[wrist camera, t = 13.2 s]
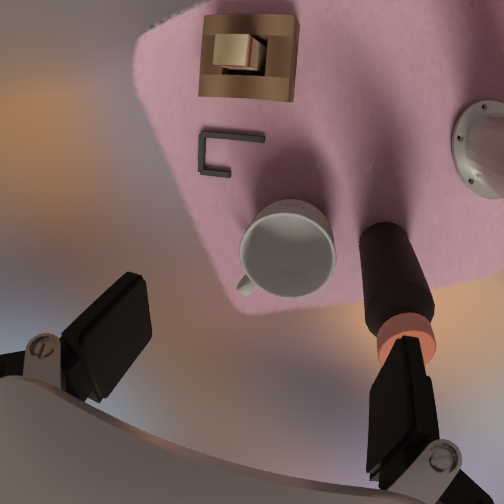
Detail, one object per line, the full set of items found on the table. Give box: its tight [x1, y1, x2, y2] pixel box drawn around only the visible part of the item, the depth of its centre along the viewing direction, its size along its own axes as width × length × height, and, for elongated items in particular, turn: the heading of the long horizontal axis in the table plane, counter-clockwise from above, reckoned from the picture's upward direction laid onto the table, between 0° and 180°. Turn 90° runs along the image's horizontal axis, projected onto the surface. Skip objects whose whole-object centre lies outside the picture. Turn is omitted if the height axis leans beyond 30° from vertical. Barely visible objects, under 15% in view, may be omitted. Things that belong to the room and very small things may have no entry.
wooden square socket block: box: [198, 14, 300, 102], centre depth 31 cm, size 10×10×4 cm
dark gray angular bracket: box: [198, 131, 265, 178], centre depth 39 cm, size 8×6×1 cm
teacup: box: [237, 199, 336, 298], centre depth 39 cm, size 14×11×8 cm
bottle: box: [359, 222, 436, 366], centre depth 30 cm, size 7×7×20 cm
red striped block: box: [213, 34, 267, 74], centre depth 29 cm, size 3×3×9 cm
